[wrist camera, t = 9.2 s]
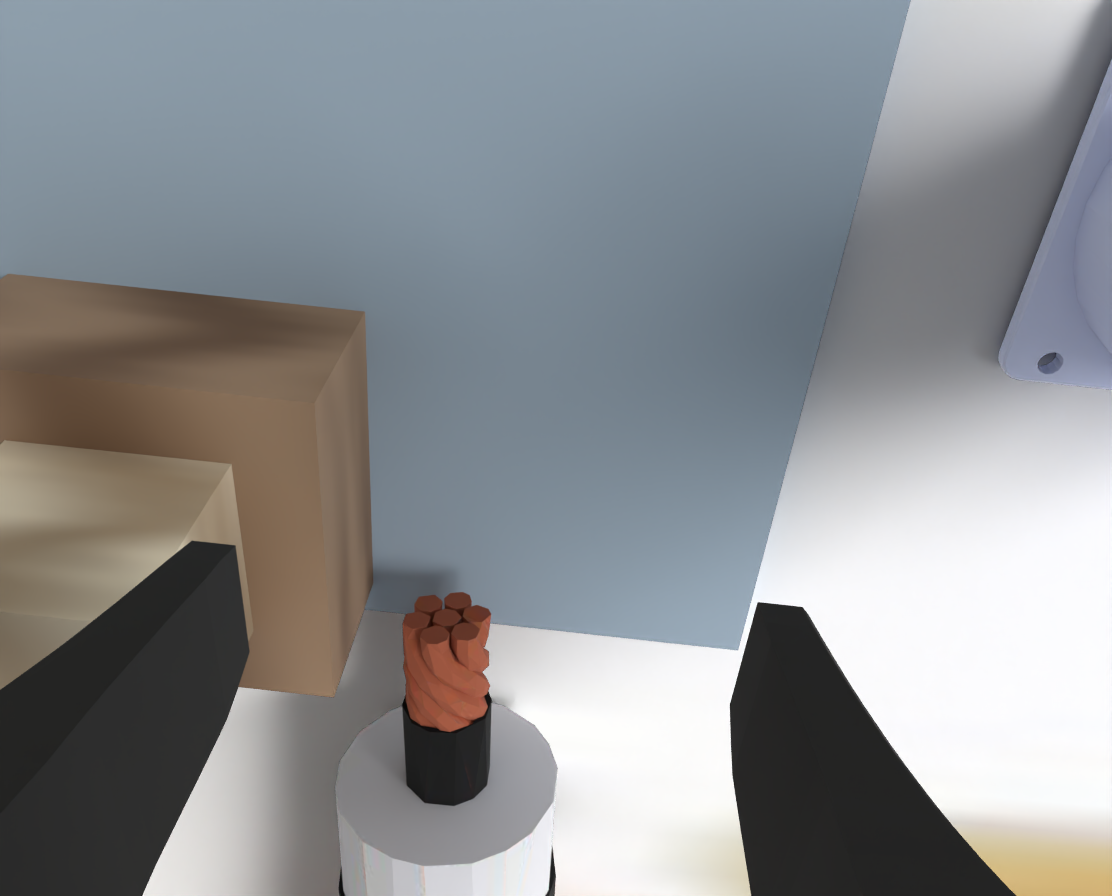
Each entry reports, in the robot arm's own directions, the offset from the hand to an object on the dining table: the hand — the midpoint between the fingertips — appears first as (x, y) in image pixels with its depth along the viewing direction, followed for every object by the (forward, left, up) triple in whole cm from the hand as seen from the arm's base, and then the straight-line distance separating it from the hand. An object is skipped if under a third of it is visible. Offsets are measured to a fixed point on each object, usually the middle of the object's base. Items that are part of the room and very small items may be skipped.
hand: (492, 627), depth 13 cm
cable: (+1, +24, -10) cm, 26 cm away
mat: (+5, -1, -10) cm, 11 cm away
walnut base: (+8, +4, -9) cm, 13 cm away
